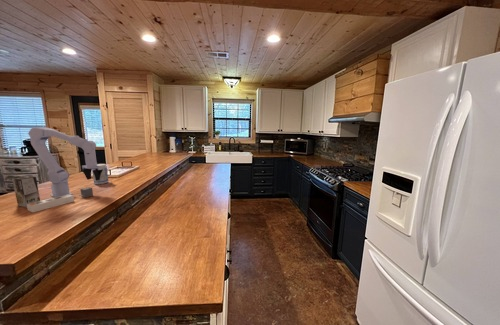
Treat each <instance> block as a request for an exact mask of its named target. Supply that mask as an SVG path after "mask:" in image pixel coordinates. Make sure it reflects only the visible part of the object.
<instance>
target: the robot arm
mask: <svg viewBox="0 0 500 325" xmlns="http://www.w3.org/2000/svg"><path fill="white" fill-rule="evenodd" d="M27 134H28V136H29V138H30V144H31V146H32V148H33V149H34V151H35V152H36V154H37V155H38V157H39V158H40V160H41V161H42V163H43V164H44V166H45V167H46V168H47V170H48V171H47V173H46V175H47V176H48V180H49V182H51V185H50V189H51V194H50V197H52V198H54V197H59V196H63V195H67V194H69V195H73V193H72V192H70V187H69V182H68V181H69V180H68V179H69V178H70V173H69V171H67V170H65V168H63V167H61V166H60V165H59V164H58V162H57V161H56V159H55V157H54V156H53V154H52V153H51V151H50V150H49V148H48V147H47V145H46V142H47V141H48V140H49V138H51V137H54V138H58V139H61V140H62V141H63V140H64V141H67V142H68V143H69V145H73V146H76V147H78V148H81V149H82V150H83V153H84V161H85V165H81V168H82V169H81V172H82V173H83V174H84V176H85V178H86V180H88V181H89V180H92V174H93V173H94V175H95V179H96V181H97V180H100V176H101V173H102V171H103V169H102V167H101V166H97V164H98V162H97V156H96V154H97V153H96V148H97V144H96V142H94V141H93V140H88V139H86V138H85V139H84V138H82V137H80V136H79V135H72V136H71V135H68V134H66V133H64V132H60V131H59V130H56V129H54V128H50V127H47V126H44V127H37V126H35V127H34V126H33V127H32V128H30V130H29V131H28V132H27ZM92 169H95V170H92ZM92 172H93V173H92Z"/></svg>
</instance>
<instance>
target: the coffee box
mask: <svg viewBox="0 0 500 325" xmlns="http://www.w3.org/2000/svg"><path fill="white" fill-rule="evenodd" d="M11 180H12V184H13V185H12V186H13V189H14V194H15V199H16V203H17V204H16V205H17V206H19V207H23V208H27V204H29V203H34V202H38V201H41V197H40V191H39V187H38V180H37V177H36V176H31V175H24V176H23V175H22V176H18V177H12V178H11Z"/></svg>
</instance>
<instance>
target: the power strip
mask: <svg viewBox="0 0 500 325" xmlns="http://www.w3.org/2000/svg"><path fill="white" fill-rule="evenodd" d="M73 202H75V198H74V195H73V194H72V195H69V194H67V195H63V196H59V197H52V198H46V199H43V200H40V201H38V202H34V203H29V204H27V207H26V208H27V211H29V212H31V213H36V212H39V211H43V210H47V209H50V208H55V207H58V206H63V205H65V204H69V203H73Z"/></svg>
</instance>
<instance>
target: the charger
mask: <svg viewBox="0 0 500 325" xmlns="http://www.w3.org/2000/svg"><path fill="white" fill-rule="evenodd" d="M78 196H79V197H83V198H84V199H86V198H88V197H93V196H94V190H93V187H90V186H87V187H84V188H80V194H78Z"/></svg>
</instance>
